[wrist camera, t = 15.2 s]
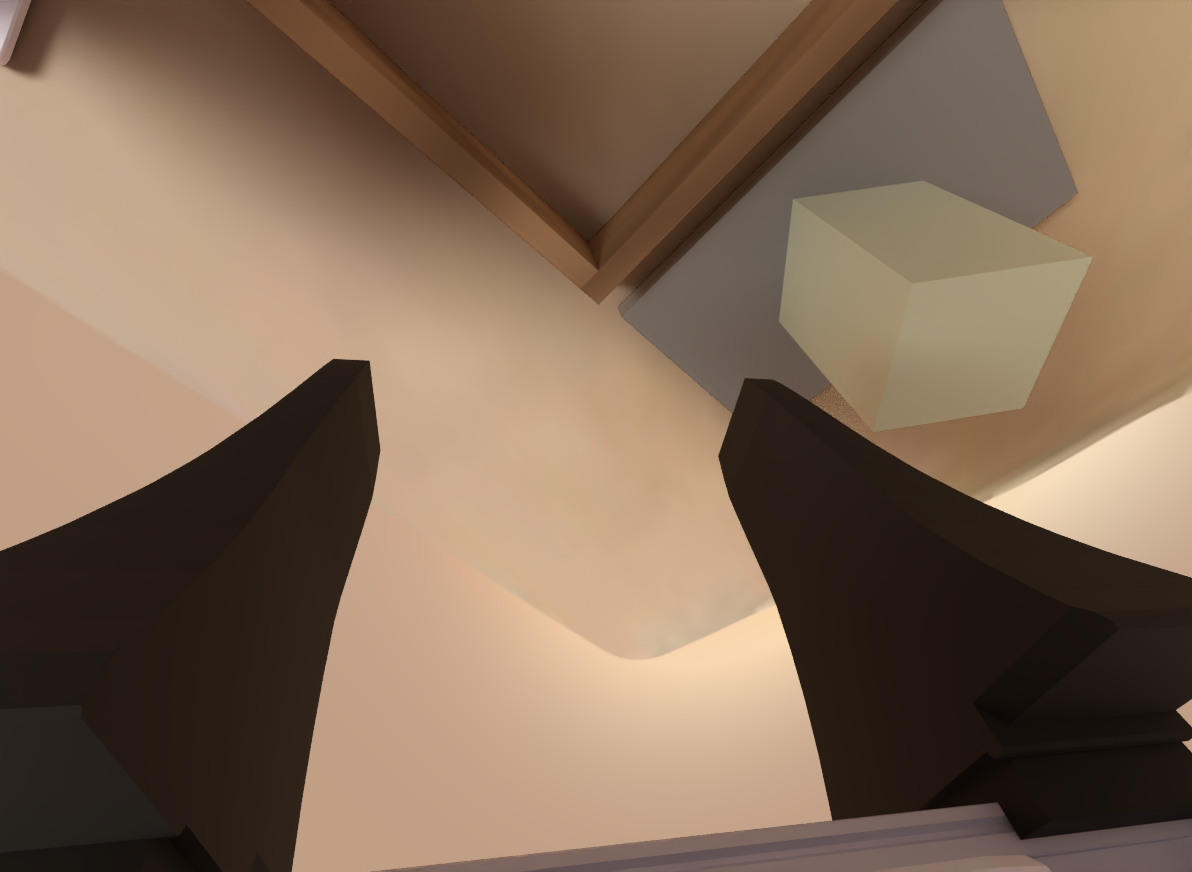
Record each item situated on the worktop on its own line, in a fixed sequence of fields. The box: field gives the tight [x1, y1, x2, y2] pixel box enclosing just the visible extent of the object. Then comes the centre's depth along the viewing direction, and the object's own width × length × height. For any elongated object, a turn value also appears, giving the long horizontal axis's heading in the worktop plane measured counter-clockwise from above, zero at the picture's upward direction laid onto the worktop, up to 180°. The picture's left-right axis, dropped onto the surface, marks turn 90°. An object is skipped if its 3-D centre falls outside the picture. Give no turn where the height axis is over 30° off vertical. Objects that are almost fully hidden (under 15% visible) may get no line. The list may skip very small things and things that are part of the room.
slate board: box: [618, 0, 1078, 414], centre depth 21 cm, size 9×14×1 cm, turn 136°
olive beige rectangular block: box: [779, 181, 1093, 433], centre depth 18 cm, size 4×5×7 cm
